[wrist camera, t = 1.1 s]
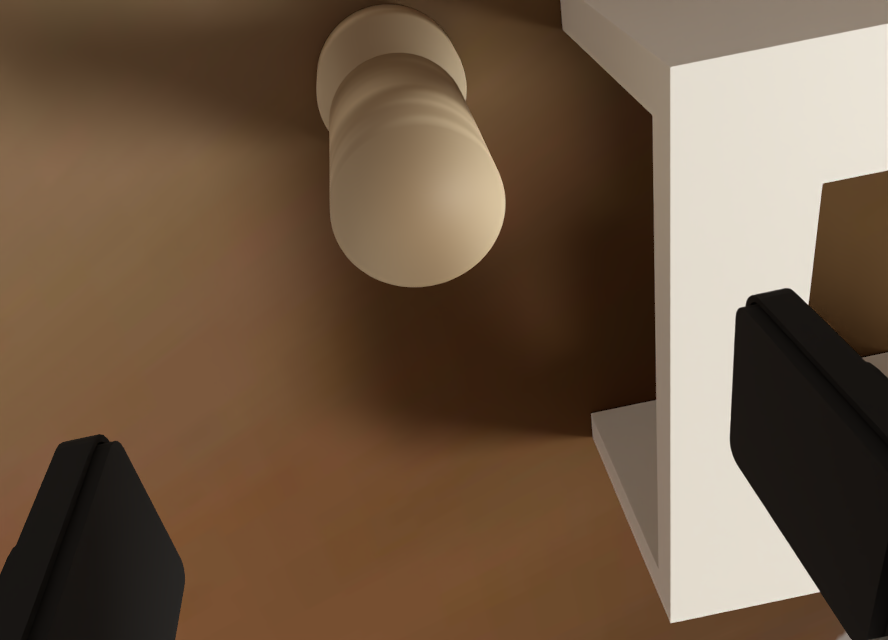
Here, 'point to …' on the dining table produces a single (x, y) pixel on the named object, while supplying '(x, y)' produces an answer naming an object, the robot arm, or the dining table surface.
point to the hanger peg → (405, 150)
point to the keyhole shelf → (727, 251)
